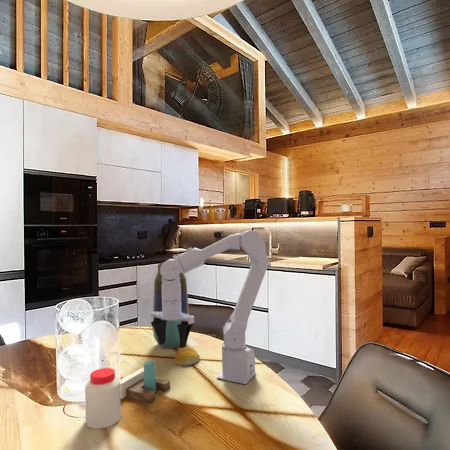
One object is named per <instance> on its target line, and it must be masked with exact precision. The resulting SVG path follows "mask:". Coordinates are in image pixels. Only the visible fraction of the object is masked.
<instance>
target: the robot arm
mask: <svg viewBox="0 0 450 450" xmlns="http://www.w3.org/2000/svg"><path fill="white" fill-rule="evenodd" d="M241 248H242V250H243V251H244V252H245V253H246V254H247V256H248V259H249V261H250V262H251V264H250V267H249V269H248V272H247V275H246V278H245V281H244V283H243V286H242V288H241V291H240V294H239V296H238V299H237V301H236V303H235V307H234V310H233V311H232V313H231V314H230V317H229V319H227V321H226V322H225V324H224V325H223V327H222V334H223V343H222V344H221V358H222V359H221V365H222V366H221V367H222V370H221V371H222V372H220V373H219V374H218V375H217V376H216V378H217V380H218V379H219V380H224V381H228V382H233V383H238V384H243V385H247V384H248V383H249V382H250V381H251V380H252V378H254V376H255V375H257V371H256V356H255V355H256V353H255V350H254V349H252V348H250V347H248V346H247V345H246V330H247V328H248V322H249V317H250V315H251V312H252V310H253V307H254V304H255V302H256V299H257V297H258V293H259V291H260V288H261V285H262V283H263V280H264V277H265V274H266V272H267V269H268V266H269V264H270V263H269V258H268V253H267V249H266V242H265V241H264V239H263V237H262V236H261V234H260V232H257V231H255V230H249V229H248V230H247V229H245V230H244V231H242V232H237V233H234V234H230V235H228V236H227V237H224V238H222V239H220V240H218V241H216V242H214V243H212V244H211V245H208V246H206V247H204V248H202V249H200V248H197V247H193V248H192V247H189V248H187V249H186V250H187V251H185V252H183V253H180V254H179V255H177V254H174V255H172V258H169V259H167V260H165V261H164V262H162V263H163V264H162V265H161V267H160V274H161V276H162V312H153V311H152V312H150V320H152V321H150V325H151V326H152V329H153V328H154V330H155V332H156V334H157V337H158V341H159V344H160V345H161V344H163V343H165V340H166V324H167V320H168V321H176V322H181V324H179V325H177V328H178V331H179V336H180V346H179V348H180V349H181V348H184V347H187V344H188V339H189V335H190V333H191V330H192V328H193V325H194V323H195V315H192V314H191V315H190V314H189V315H187V314H184V313H182V311H181V284H180V275H179V274H180V273H184V274H186V273H188V272H191V271H193V270H194V269H195V270H196V269H198V268H199V267H201V266H204V264H205V261H206V259H209V258H211V257H213V256H215V255H216V256H217V255H218V254H220V253H221V254H222V252H223V253H224V252H225V251H228V250H239V251H240V249H241ZM153 319H154V320H153ZM159 344H158V345H159ZM160 345H159V346H160Z"/></svg>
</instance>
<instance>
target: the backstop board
mask: <svg viewBox="0 0 450 450" xmlns="http://www.w3.org/2000/svg"><path fill="white" fill-rule="evenodd" d="M143 378H144V366H143V367H140V369H138V370H137V369H136V370H135V371H134V372H132V373H130V374H129V375H126V376H125V377H123V378H122V379H119V380H120V400H123V399H124V398H127V397H126V388H128V387H130V386H131V385H133V384H135V383H136V382H138V381H140V380H141V379H143Z"/></svg>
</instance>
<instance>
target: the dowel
mask: <svg viewBox="0 0 450 450" xmlns="http://www.w3.org/2000/svg"><path fill="white" fill-rule="evenodd" d="M156 363H157V362H156V361H154V360H150V361H145V362H143V367H144V389H147V390H151V391H155V395H157V394H156V393H157V390H156V378H157V366H156V365H157V364H156Z"/></svg>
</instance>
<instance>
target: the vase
mask: <svg viewBox="0 0 450 450" xmlns="http://www.w3.org/2000/svg"><path fill="white" fill-rule="evenodd" d="M163 263H164V262H160V263H158V264H157V272H156V275H155V278H154V280H153V281H154V282H153V301H152V302H153V305H152V312H162V276H161V274H160V267H161V265H162V264H163ZM179 275H180V284H181V311H182V313H184V314H187V315H190V312H189V310H190V309H189V298H188V297H189V296H188V285H187V283H188V282H187V277H186V275H185V273H180V274H179ZM153 320H154V319H152V321H153ZM179 324H181V322H176V321H168V320H167V324H166V340H165V343H163V344H161V345H160V344H159V341H158V337H157V334H156V332H155V330H154V328H153V327H152V333H153V338H154V341H155V342H156V343H157V345H158V346H160V347H162V348H165V349H173V348H174V349H175V348H178V347H179V348H180V336H179V331H178V328H177V325H179Z"/></svg>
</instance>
